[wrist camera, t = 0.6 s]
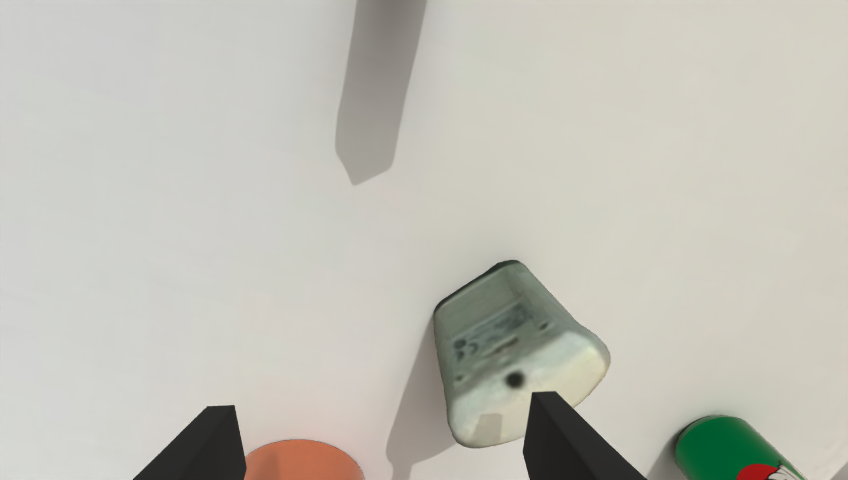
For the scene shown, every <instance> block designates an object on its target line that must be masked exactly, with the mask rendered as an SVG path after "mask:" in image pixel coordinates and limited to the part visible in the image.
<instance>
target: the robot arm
mask: <svg viewBox="0 0 848 480" xmlns="http://www.w3.org/2000/svg"><path fill="white" fill-rule="evenodd" d="M523 455H524V459H525V463H526V467H527V471H528V475H529V478H530V480H647V479H646V478H645V477H644V476H643V475H641V474H640V473H639V472H638V471H637V470H636V469H635V468H634V467H633V466H632V465H631V464H630V463H628V462H627V461H626V460H625V459H624V458H623V457H622V456H621V455H620V454H619V453H618V452H617V451H616V450H615V449H614V448H613V447H612V446H611V445H609V444H608V443H607V442H606V441H605V440H604V439H603V438H602V437H601V436H600V435H599V434H598V433H597V432H596V431H595V430H594V429H593V428H592V427H591V426H590V425H589V424H588V423H587V422H586V421H585V420H584V419H583V418H582V417H581V416H580V415H579V414H578V413H577V412H576V411H575V410H574V409H573V408H572V407H571V406H570V405H569V404H568V403H567V402H566V401H565V400H564V399H563V398H562V397H561V396H560V395H559V394H558V393H557V392H556V391H544V392H532V395H531V402H530V408H529V415H528V421H527V427H526V434H525V440H524V447H523ZM246 470H247V466H246V461H245V456H244V451H243V446H242V441H241V436H240V431H239V426H238V421H237V416H236V411H235V406H234V405H228V406H207V407H206V408H205V409H204V410H203V411H202V412H201V413H200V414H199V415H198V416H197V417H196V418H195V419H194V420H193V421H192V422H191V423H190V424H189V425H188V426H187V427H186V428H185V429H184V430H183V431H182V432H181V433H180V434H179V435H178V436H177V437H176V438H175V439H174V440H173V441H172V442H171V443H170V444H169V445H168V446H167V447H166V448H165V449H164V450H163V451H162V452H161V453H160V454H159V455H158V456H156V457H155V458H154V459H153V460H152V461H151V462H150V463H149V464H148V465H147V466H146V467H145V468H144V469H143V470H142V471H141V472H140V473H139V474H138V475H137V476H136V477H135V478H134V479H133V480H244V477H245V473H246Z"/></svg>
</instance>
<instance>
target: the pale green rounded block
mask: <svg viewBox="0 0 848 480" xmlns="http://www.w3.org/2000/svg"><path fill="white" fill-rule="evenodd" d="M434 333H435V343H436V349H437V356H438V362H439V367H440V372H441V377H442V381H443V385H444V393H445V399H446V406H447V419H448V425H449V427H450V430H451V432H452V435H453V437H454V439H455V440H456V441H457V443H459V444H461V445H462V446H464V447H468V448H484V447H490V446H496V445H500V444H503V443H507V442H510V441H514V440H517V439H519V438H521V437H524V436H525V434H526V427H527V421H528V415H529V408H530V402H531V395H532V392H544V391H556V392H557V393H558V394H559V395H560V396H561V397H562V398H563V399H564V400H565V401H566V402H567V403H568V404H569V405H570V406H571V407H572V408H574V407H576V406H577V405H578V404H579V403H581V402H582V401H583V400H584V399H585V398H586V397H587V396H588V395H590V393H591V392H592V391H593V390H594V389H595V388H596V386H597V385H598V384H599V383H600V381H601V380H602V379H603V377H604V376H605V374H606V372H607V371H608V368H609V366H610V363H611V362H610V352H609V350H608V348H607V346H606V345H605V344H604V343H603V342H602V341H601V340H600V339H599V338H598V336H597V335H595V334H594V333H593V332H591V331H590V330H588V329H587V328H585V327H584V326H582V325H580V324H579V323H578V322H577V321H576V320H575V319H574V318H573V317H572V316H571V314H570V313H569V312H568V311H567V310H566V309H565V308H564V307H563V306H562V305H561V304H560V303H559V302H558V301H557V299H556V298H555V297H554V296H553V295H552V294H551V293H550V292H549V291H548V290H547V289H546V288H545V287H544V286H543V285H542V284H541V282H540V281H539V280H538V279H537V278H536V277H535V276H534V275H533V274H532V273H531V272H530V271H529V269H528V268H527V267H526V266H525V265H524V264H522V263H520V262H519V261H517V260H509V261H504V262H500V263H497V264H496V265H495V266H493V267H492V268H490V269H489V270H488V271H486V272H485V273H484V274H482V275H481V276H479V277H477V278H476V279H474V280H473V281H471V282H469V283H468V284H466V285H465V286H463V287H461V288H460V289H458V290H457V291H455V292H454V293H453V294H451V295H449V296H448V297H446V298H445V299H443V300H442V301H441V302H440V303H439V304H438V305H437V306H436V309H435V311H434Z"/></svg>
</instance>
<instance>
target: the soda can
mask: <svg viewBox="0 0 848 480" xmlns="http://www.w3.org/2000/svg"><path fill="white" fill-rule="evenodd" d="M675 461H676V464H677V466H678V468H679V469H680V470H681V472H682V473H683V474H684V476H685V477H686V478H687V480H808V479H807V478H806V477H805V476H804V475H803V474H802V473H800V472H799V471H798V470H797V469H796V468H795V467H794V466H793V465H792V464H791V463H790V462H789V461H788V460H787V459H786V458H785V457H783V456H782V455H781V454H780V453H779V452H778V451H777V450H776V449H775V448H774V447H773V446H772V445H771V444H770V443H769V442H768V441H766V440H765V439H764V438H763V437H762V436H761V435H760V434H759V433H758V432H757V431H756V430H755V429H754V428H753V427H752V426H751V425H749V424H748V423H747V422H746V421H744V420H742V419H740V418H737V417H732V416H726V415H712V416H708V417H704V418H702V419H699V420H697V421H695V422H694V423H692V424H691V425H689V426H688V427H687V428H686V429H685V430H684V431H683V432H682V433H681V434H680V436H679V438H678V439H677V442H676V446H675Z"/></svg>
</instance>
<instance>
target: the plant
mask: <svg viewBox="0 0 848 480" xmlns="http://www.w3.org/2000/svg"><path fill="white" fill-rule="evenodd" d="M245 461H246V466H247V470H246V473H245V477H244V480H365V479H364V476H363V473H362V471H361V469H360V467H359V466H358V465H357V463H356V462H355V461H354V460H353V459H352V458H351V457H350V456H349V455H347V454H346V453H345V452H343V451H341V450H339V449H338V448H335V447H333V446H331V445H328V444H325V443H321V442H316V441H311V440H285V441H279V442H275V443H271V444H268V445H265V446H263V447H260V448H258V449H257V450H255V451H253V452H251V453H250V454H249V455H247V456H246V457H245Z"/></svg>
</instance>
